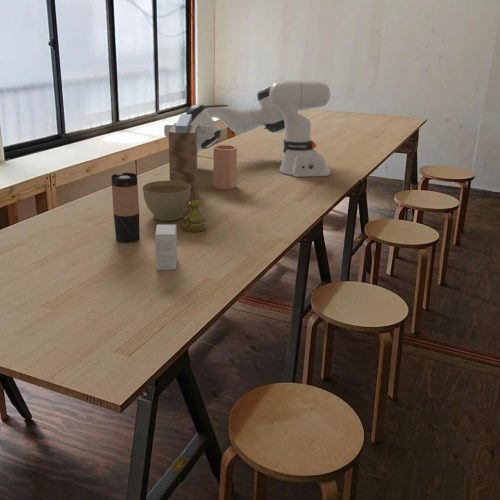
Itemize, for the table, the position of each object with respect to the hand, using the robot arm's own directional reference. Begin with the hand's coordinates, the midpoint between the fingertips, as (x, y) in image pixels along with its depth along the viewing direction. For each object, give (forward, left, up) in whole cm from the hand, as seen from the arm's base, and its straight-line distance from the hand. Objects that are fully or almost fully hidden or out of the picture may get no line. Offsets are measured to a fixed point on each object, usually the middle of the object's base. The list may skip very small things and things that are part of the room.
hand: (187, 125), depth 237 cm
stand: (0, +25, -23) cm, 34 cm away
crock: (-15, +9, -23) cm, 29 cm away
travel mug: (+14, +68, -23) cm, 73 cm away
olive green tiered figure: (-6, +58, -23) cm, 63 cm away
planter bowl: (+4, +47, -23) cm, 53 cm away
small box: (0, +87, -23) cm, 90 cm away
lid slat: (0, +21, +3) cm, 22 cm away
